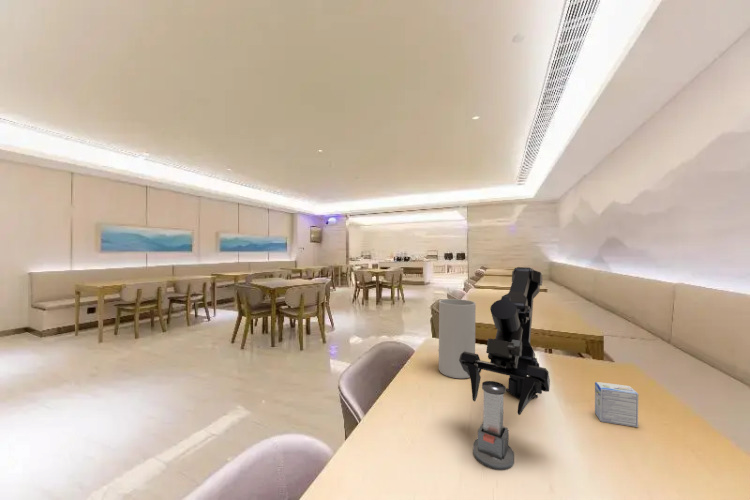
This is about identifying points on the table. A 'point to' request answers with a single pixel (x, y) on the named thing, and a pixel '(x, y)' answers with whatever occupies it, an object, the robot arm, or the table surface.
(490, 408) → the column
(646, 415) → the table surface
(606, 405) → the medicine box
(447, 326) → the cylinder vase
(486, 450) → the stand
